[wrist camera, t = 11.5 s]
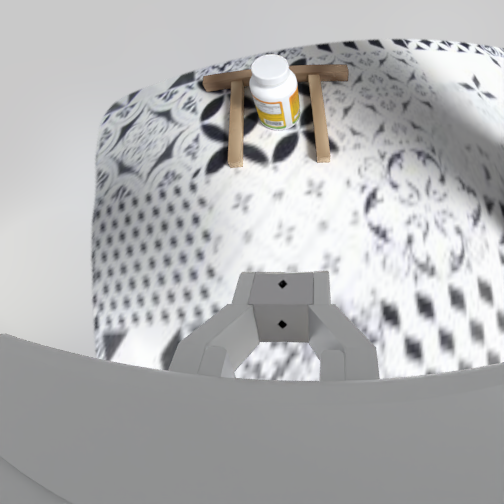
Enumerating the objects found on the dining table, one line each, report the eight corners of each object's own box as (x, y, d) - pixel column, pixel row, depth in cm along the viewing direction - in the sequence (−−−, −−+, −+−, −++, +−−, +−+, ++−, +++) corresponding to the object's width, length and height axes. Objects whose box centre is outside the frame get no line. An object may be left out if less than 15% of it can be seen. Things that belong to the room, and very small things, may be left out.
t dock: (345, 73, 37) (346, 64, 35) (362, 161, 35) (364, 154, 33) (207, 84, 41) (203, 76, 39) (200, 170, 38) (194, 164, 36)
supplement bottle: (287, 93, 38) (279, 43, 29) (308, 120, 37) (305, 71, 27) (252, 109, 39) (235, 62, 29) (271, 138, 37) (258, 91, 28)
